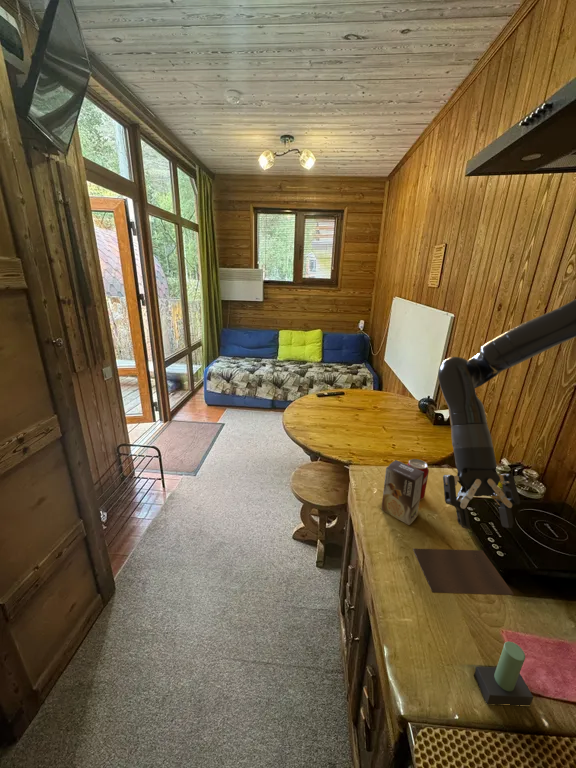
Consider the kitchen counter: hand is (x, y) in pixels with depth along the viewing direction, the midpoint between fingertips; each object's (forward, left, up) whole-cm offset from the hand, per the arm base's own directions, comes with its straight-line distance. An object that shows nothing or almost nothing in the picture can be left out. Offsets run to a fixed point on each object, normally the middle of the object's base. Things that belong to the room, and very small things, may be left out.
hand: (486, 527), depth 62 cm
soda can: (-1, -35, -20) cm, 40 cm away
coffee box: (+7, -25, -20) cm, 33 cm away
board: (-1, -6, -19) cm, 20 cm away
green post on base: (+3, +16, -19) cm, 26 cm away
